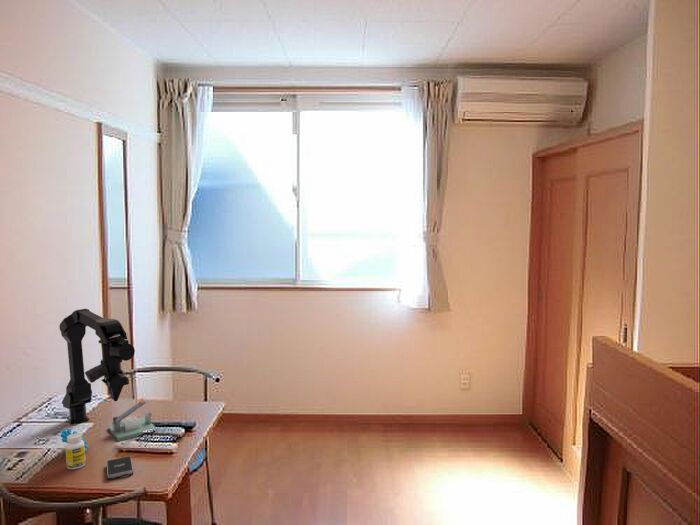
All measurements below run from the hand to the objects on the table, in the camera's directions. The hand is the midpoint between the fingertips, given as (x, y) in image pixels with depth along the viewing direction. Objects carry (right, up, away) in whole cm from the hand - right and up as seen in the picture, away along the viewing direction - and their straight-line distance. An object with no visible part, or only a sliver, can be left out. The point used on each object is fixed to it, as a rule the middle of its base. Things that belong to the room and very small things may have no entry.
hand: (114, 400), depth 192 cm
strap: (+4, -6, +6) cm, 9 cm away
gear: (-9, -15, -10) cm, 20 cm away
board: (+4, -12, +6) cm, 14 cm away
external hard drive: (+12, -16, -25) cm, 32 cm away
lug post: (+8, -12, +10) cm, 17 cm away
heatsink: (+3, -11, +6) cm, 13 cm away
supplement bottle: (-3, -16, -21) cm, 26 cm away
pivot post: (-1, -13, +3) cm, 13 cm away
